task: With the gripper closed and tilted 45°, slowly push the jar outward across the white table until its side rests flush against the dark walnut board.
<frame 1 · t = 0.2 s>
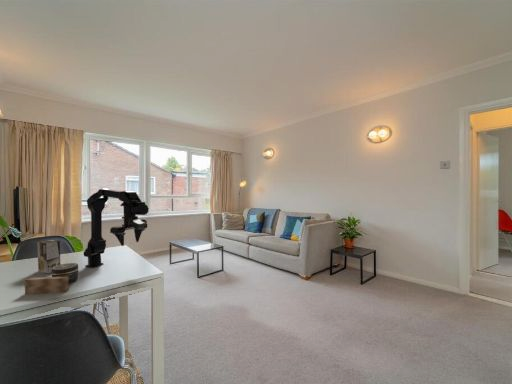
hand: (130, 243, 126), 15 cm above the table, tool pointing down, fingers open, 9 cm apart
coffee box: (49, 271, 128), on the table
walnut board: (47, 291, 102), on the table
jar: (65, 282, 113), on the table
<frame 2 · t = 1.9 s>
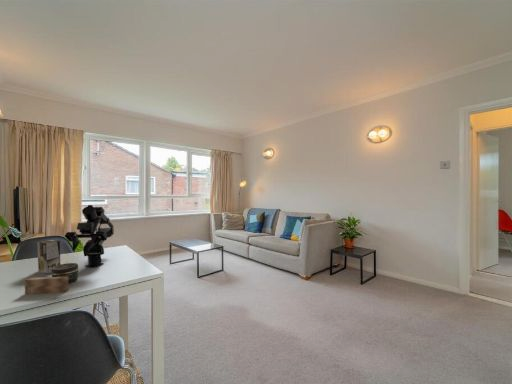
hand: (80, 250, 123), 12 cm above the table, tool tilted 45°, fingers open, 7 cm apart
nothing on the table moved.
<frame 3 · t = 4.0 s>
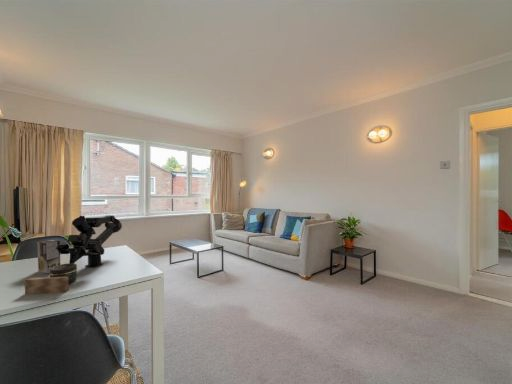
hand: (71, 263, 117), 7 cm above the table, tool tilted 45°, fingers closed
jar: (63, 282, 112), on the table, touching gripper
everything else where it was.
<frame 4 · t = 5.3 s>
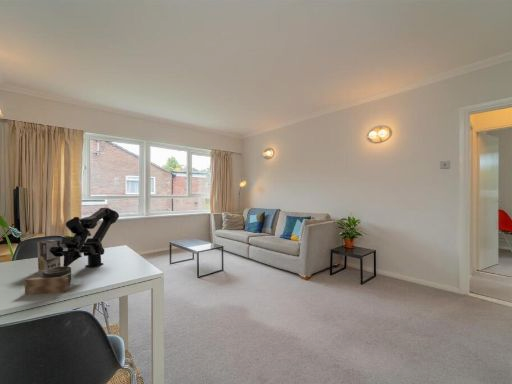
hand: (64, 266, 113), 7 cm above the table, tool tilted 45°, fingers closed, pressing on jar
jar: (57, 286, 108), on the table, touching gripper, walnut board
everything else where it was.
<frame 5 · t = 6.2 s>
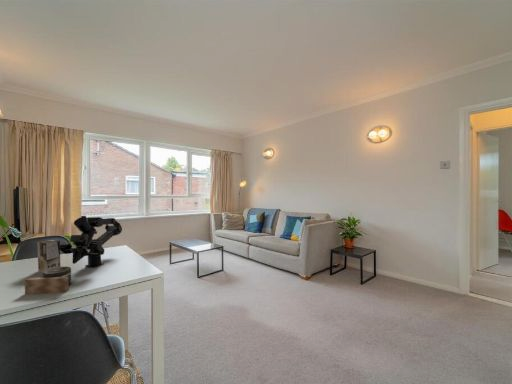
hand: (73, 263, 119), 7 cm above the table, tool tilted 45°, fingers closed
jar: (57, 286, 108), on the table, touching walnut board
everything else where it was.
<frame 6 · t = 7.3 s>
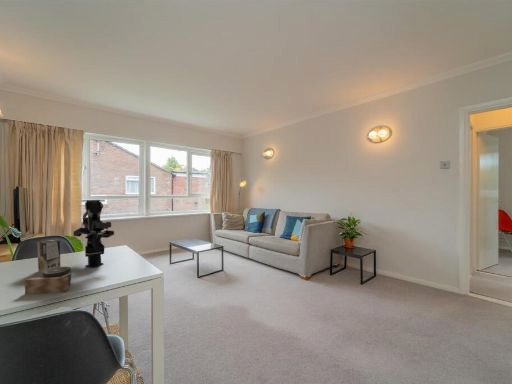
hand: (95, 248, 126), 13 cm above the table, tool tilted 30°, fingers closed
jar: (57, 286, 108), on the table
everything else where it was.
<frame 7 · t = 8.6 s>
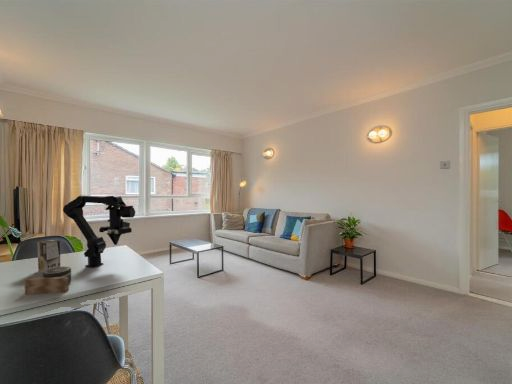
hand: (115, 244, 136), 12 cm above the table, tool pointing down, fingers closed
nothing on the table moved.
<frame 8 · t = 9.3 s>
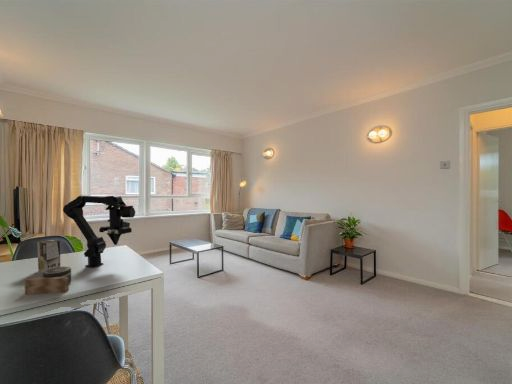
hand: (115, 244, 136), 12 cm above the table, tool pointing down, fingers closed
nothing on the table moved.
at the end: jar 0.4 cm from the target spot on the table beside the walnut board, on the table; jar 5.9 cm from the walnut board (horizontally); jar tilted 0° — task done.
